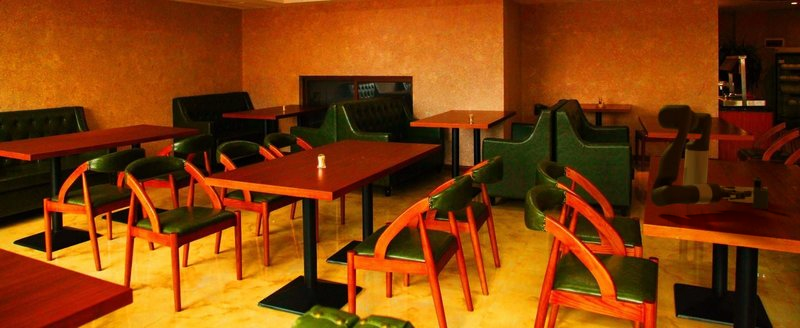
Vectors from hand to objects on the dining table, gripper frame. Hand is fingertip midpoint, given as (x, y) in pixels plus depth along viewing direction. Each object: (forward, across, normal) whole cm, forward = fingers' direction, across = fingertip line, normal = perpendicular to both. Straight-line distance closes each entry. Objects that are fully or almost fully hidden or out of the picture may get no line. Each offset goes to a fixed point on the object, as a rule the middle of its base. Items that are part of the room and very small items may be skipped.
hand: (742, 191), depth 234 cm
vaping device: (+8, 0, +7) cm, 11 cm away
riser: (+13, +14, +7) cm, 21 cm away
